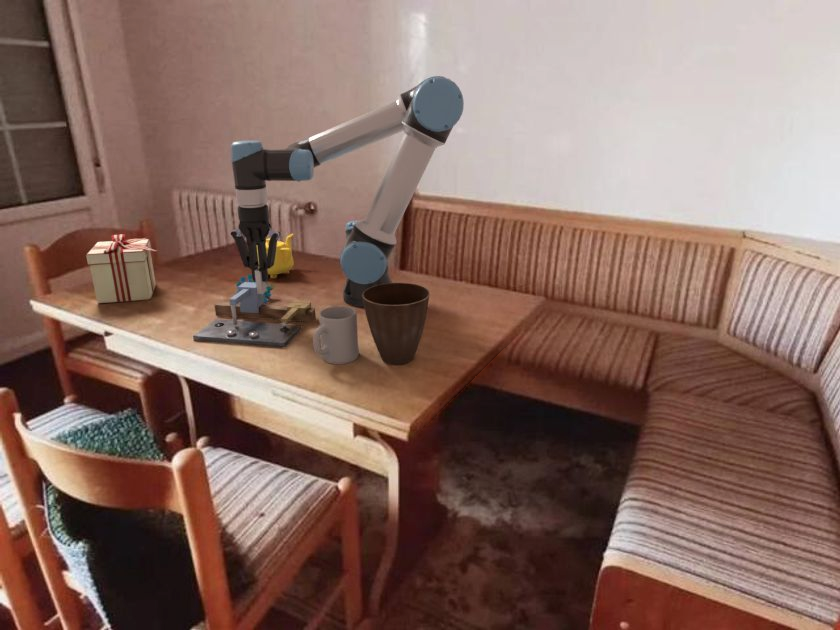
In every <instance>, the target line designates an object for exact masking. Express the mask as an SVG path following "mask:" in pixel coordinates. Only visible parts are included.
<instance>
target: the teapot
mask: <svg viewBox="0 0 840 630" xmlns="http://www.w3.org/2000/svg"><path fill="white" fill-rule="evenodd" d="M293 236H294V233H290V234H289V235H287V236H286V238H285V241H284V242H283V241H279V240H277V247H276V254H275V261H274V265H273V266H272V267H271V268H269V269H267V271H268V276H269V278H270V279H277V278H278V275H279V274H284V275H285V274H286V275H287V274H290V271H291V270H292V269H293V266H294V263H295V262H294V257H293V250H292V241H291V239H292V237H293ZM269 241H270V238H269V237H268V238H266V253H267V254H268V247H269ZM257 254H258V249H257ZM258 263H259V258H258ZM258 268H260V267H258Z"/></svg>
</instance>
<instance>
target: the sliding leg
mask: <svg viewBox="0 0 840 630" xmlns="http://www.w3.org/2000/svg"><path fill="white" fill-rule="evenodd" d="M237 290H238V293H237V292H236V294H234V295H233V296H231V297H230V298H229V299H228V301H229V302H230V305H231V310H232V316H231V317H232V320H233V324H234V325H237V324H238V323H237V321H238V317H237V316H236V308H235V305H237V304H238V303H240V311H241V312H248V313H259V307H260V306H261V305H266V303H265V301H264V296H263V294H257V288H256V283H254V282H248V281H246V282H244V283H243V282H242V283H241V285H240V286H238V287H237Z"/></svg>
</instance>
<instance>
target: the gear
mask: <svg viewBox="0 0 840 630" xmlns="http://www.w3.org/2000/svg"><path fill="white" fill-rule="evenodd" d="M246 277H247V279H248V280H247V281H246ZM267 281H268V280H267ZM267 281H266V285H267V284H268V282H267ZM244 282H254V283H256V281H253V278H252V274H248V275H247V276H242V277H241V278H240V281H238V282H237V283H236V287H237V288H238V286H240V285H241V284H243V283H244ZM274 288H275V286H274V284H271V285H269V286H266V290H267V291H266V292H265V293H264V294H263V296H264V301H265V304H267V303H268V299H270V297H271V296H272V294H271V291H273V290H274ZM237 293H238V289H237V290H236V294H237Z"/></svg>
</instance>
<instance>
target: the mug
mask: <svg viewBox="0 0 840 630" xmlns="http://www.w3.org/2000/svg"><path fill="white" fill-rule="evenodd" d="M318 319H319V320H318V321H319V326H318V327H317V328H316V329H315V330H314V332H313V342H312V343H313V348H314V352H315V353H316V354H317V355H318V356H321V358H322V360H324V361H325V362H326V363H328V364H333V365H345V364H348V363H351V362H354V361H355V360H357V359H358V357H359V354H360V353H359V352H360V351H359V339H358V338H359V335H358V334H359V333H358V320H357V319H358V317H357V311H356V309H355V308H353V307H350V306H346V305H345V306H344V305H336V306H330V307H326V308H324V309H322V310H320V311H319V315H318ZM320 345H321V347H320Z"/></svg>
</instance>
